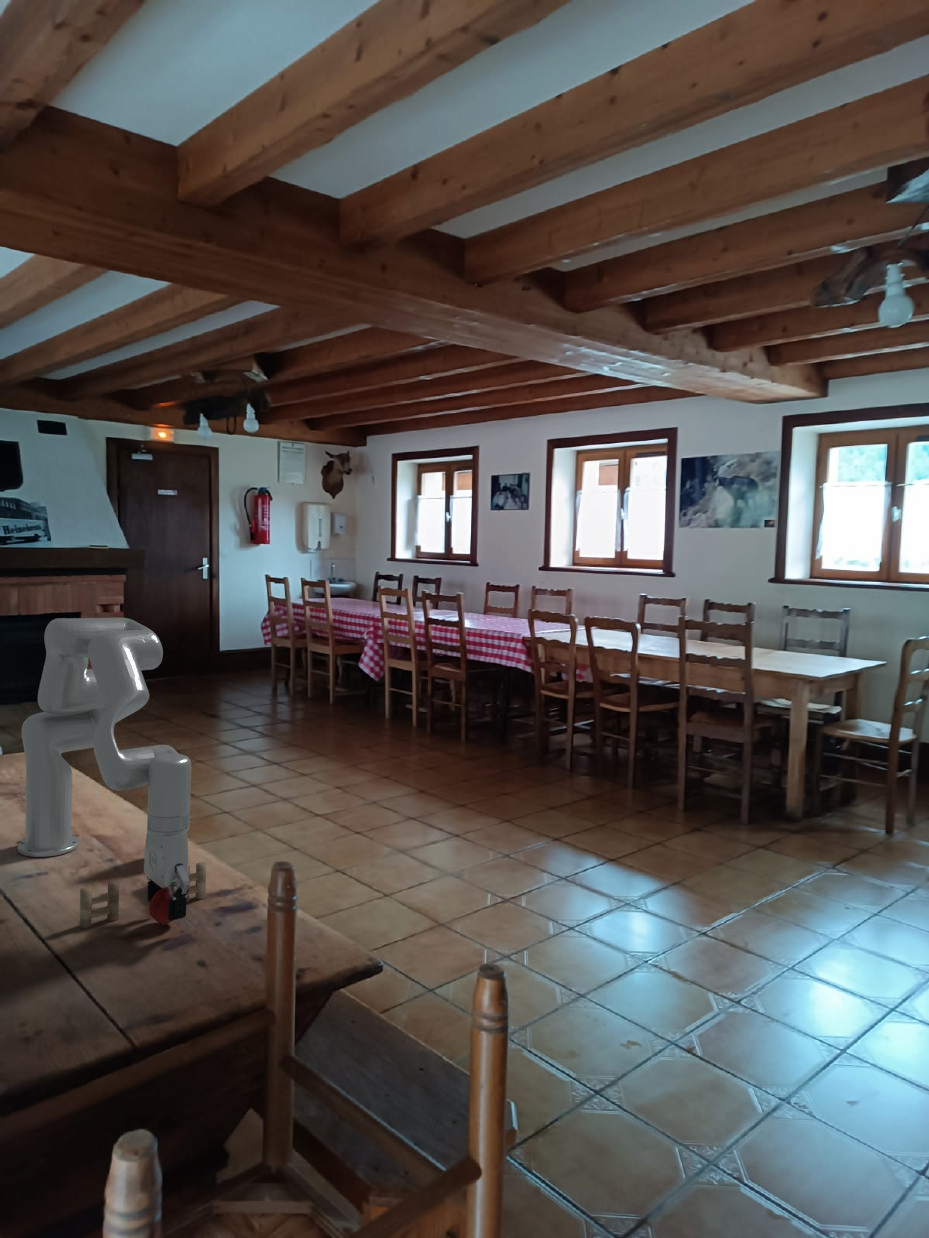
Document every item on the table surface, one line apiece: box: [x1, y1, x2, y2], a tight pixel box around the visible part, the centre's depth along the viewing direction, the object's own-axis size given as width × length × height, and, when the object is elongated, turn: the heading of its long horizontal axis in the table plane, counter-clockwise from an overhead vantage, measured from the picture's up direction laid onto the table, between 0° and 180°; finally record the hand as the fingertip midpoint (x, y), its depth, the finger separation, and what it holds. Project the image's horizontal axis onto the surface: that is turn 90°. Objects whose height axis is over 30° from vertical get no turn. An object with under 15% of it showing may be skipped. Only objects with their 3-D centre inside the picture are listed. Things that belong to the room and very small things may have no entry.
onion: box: [148, 886, 176, 926], centre depth 161 cm, size 6×6×8 cm
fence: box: [79, 861, 207, 929], centre depth 166 cm, size 2×24×7 cm, turn 131°
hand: (166, 909), depth 161 cm, fingers open, 9 cm apart
